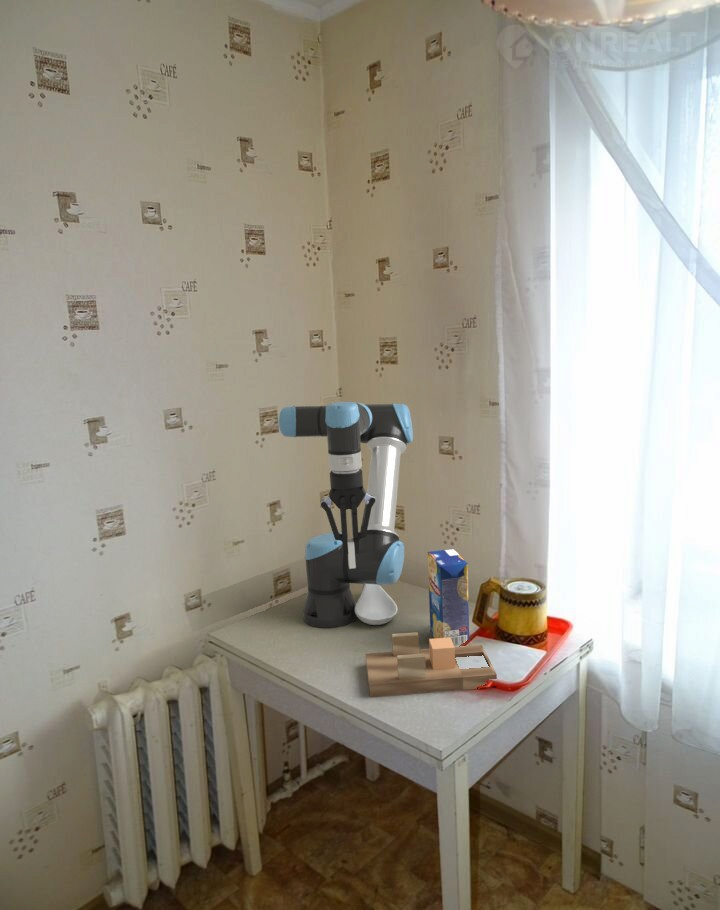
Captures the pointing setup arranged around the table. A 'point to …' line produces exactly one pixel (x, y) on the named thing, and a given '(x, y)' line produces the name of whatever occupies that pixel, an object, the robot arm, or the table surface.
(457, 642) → the beverage box
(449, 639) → the block
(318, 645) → the table surface
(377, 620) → the spoon rest
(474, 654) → the deck
